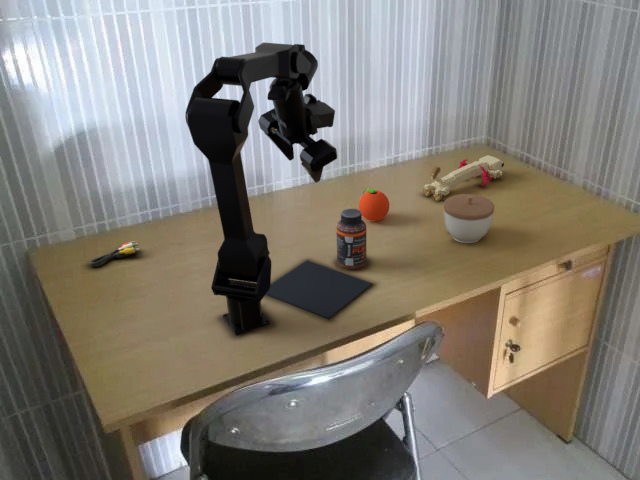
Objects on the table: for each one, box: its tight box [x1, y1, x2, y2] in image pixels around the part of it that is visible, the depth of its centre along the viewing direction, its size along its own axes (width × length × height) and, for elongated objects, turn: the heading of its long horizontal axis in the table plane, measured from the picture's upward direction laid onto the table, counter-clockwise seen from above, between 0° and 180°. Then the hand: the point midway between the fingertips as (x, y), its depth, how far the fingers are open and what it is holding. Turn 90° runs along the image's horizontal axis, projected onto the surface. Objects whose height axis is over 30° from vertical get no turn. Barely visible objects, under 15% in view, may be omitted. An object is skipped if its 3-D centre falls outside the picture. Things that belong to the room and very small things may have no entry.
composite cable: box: [89, 240, 141, 267], centre depth 137 cm, size 10×5×2 cm, turn 123°
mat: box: [265, 260, 373, 320], centre depth 129 cm, size 14×16×1 cm
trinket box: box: [443, 193, 495, 244], centre depth 145 cm, size 11×11×9 cm
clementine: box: [358, 188, 390, 222], centre depth 153 cm, size 8×7×7 cm
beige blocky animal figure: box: [422, 155, 505, 202], centre depth 169 cm, size 10×9×25 cm
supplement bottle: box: [335, 208, 367, 270], centre depth 134 cm, size 6×6×11 cm
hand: (304, 170), depth 138 cm, fingers open, 9 cm apart
